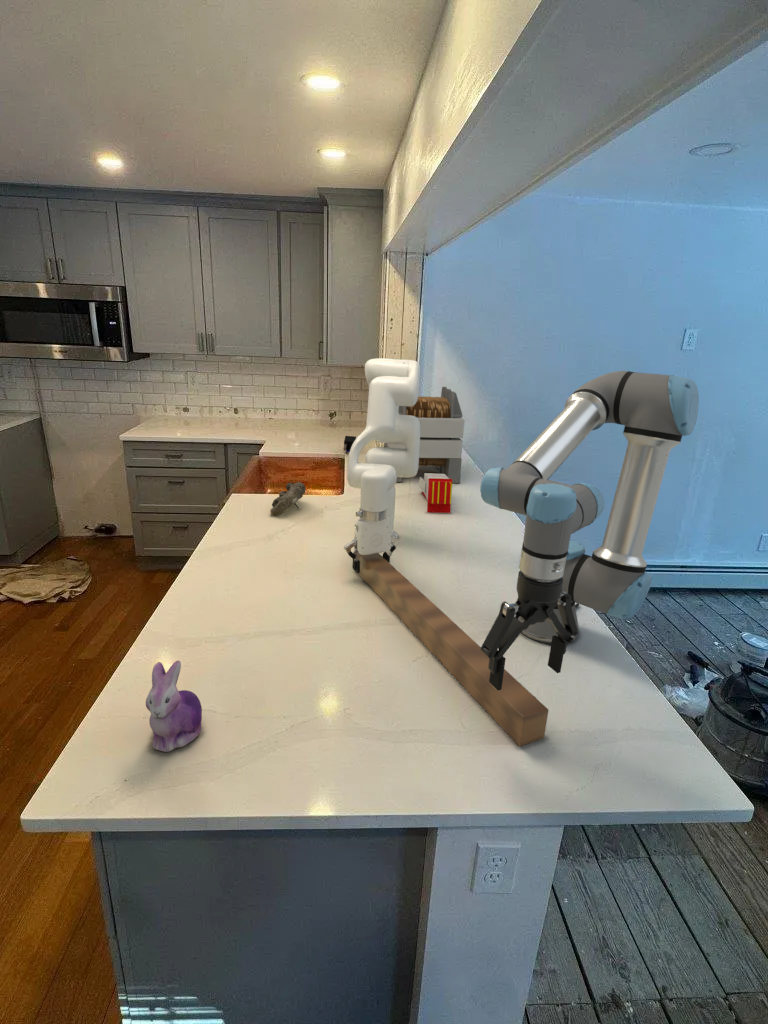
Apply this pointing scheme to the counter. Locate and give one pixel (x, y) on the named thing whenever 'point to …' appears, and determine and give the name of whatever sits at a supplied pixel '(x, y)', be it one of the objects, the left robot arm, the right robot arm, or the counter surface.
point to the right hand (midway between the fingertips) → (525, 677)
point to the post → (457, 652)
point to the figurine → (172, 710)
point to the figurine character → (348, 443)
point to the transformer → (438, 432)
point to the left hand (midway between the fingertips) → (371, 569)
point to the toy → (437, 492)
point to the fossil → (288, 498)
